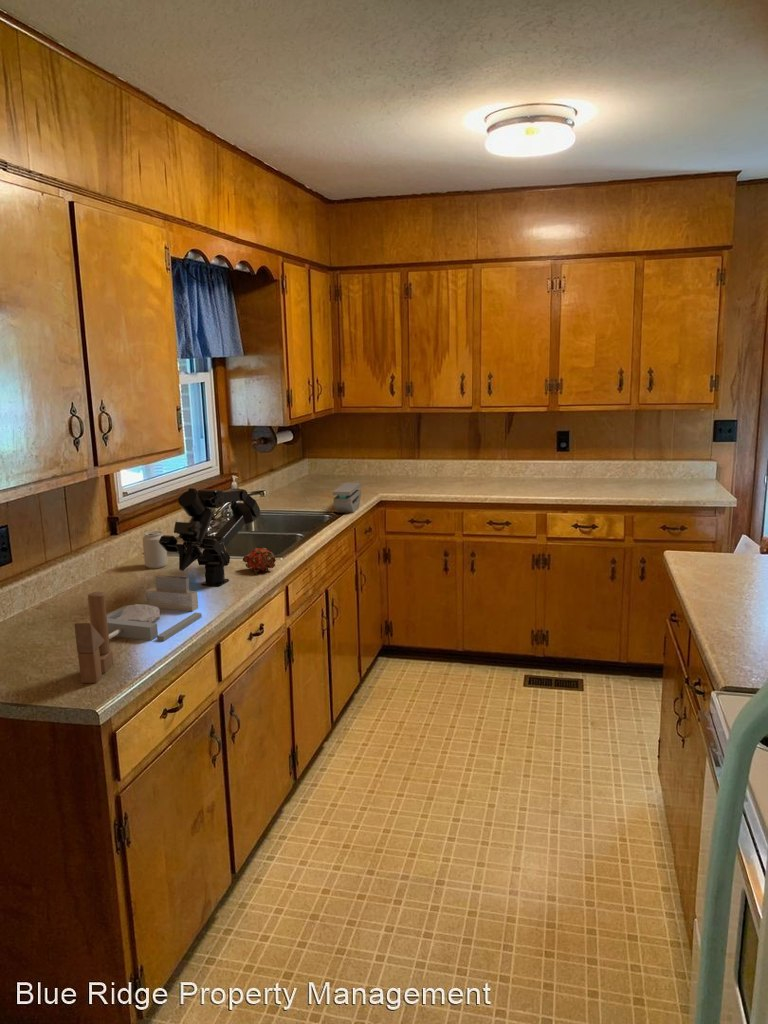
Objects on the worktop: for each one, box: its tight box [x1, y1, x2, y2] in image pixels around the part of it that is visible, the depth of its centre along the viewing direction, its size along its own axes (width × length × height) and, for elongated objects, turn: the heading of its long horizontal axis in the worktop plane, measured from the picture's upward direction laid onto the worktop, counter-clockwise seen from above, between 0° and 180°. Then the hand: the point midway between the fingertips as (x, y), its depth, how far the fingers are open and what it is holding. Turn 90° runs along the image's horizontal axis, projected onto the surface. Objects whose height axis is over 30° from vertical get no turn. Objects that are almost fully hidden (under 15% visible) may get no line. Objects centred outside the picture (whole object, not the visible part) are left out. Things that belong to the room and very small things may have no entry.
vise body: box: [107, 605, 203, 642], centre depth 195 cm, size 29×25×4 cm
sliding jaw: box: [145, 574, 199, 613], centre depth 213 cm, size 3×15×9 cm, turn 72°
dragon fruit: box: [242, 547, 277, 573], centre depth 248 cm, size 8×8×12 cm
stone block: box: [116, 603, 161, 623], centre depth 201 cm, size 12×5×10 cm
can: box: [142, 530, 169, 570], centre depth 255 cm, size 8×8×12 cm
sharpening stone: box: [332, 481, 362, 514], centre depth 342 cm, size 25×8×11 cm, turn 170°
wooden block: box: [73, 591, 114, 684], centre depth 168 cm, size 4×11×18 cm, turn 0°
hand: (181, 570), depth 217 cm, fingers closed
